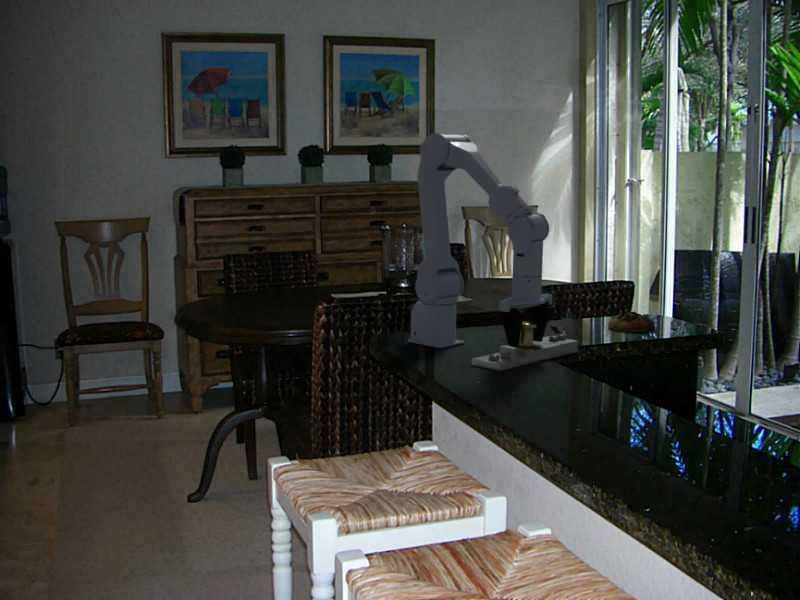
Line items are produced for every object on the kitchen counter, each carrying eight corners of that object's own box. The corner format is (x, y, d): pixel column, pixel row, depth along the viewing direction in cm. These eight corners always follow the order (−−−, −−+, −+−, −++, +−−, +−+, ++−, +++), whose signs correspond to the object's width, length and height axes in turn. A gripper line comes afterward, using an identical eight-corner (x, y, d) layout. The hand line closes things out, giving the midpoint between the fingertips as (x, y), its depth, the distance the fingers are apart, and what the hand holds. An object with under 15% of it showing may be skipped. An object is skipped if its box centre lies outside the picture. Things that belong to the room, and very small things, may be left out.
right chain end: (499, 358, 188) (499, 342, 188) (549, 346, 200) (550, 332, 199) (527, 364, 183) (528, 347, 183) (577, 352, 195) (578, 336, 194)
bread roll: (665, 331, 219) (663, 310, 218) (625, 340, 215) (623, 319, 214) (636, 325, 229) (634, 304, 228) (597, 334, 225) (595, 313, 224)
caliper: (572, 342, 206) (573, 314, 205) (567, 342, 206) (568, 314, 205) (553, 325, 226) (553, 299, 225) (548, 325, 226) (549, 299, 225)
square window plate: (471, 364, 182) (471, 354, 182) (522, 353, 193) (522, 343, 193) (499, 370, 177) (500, 360, 177) (549, 358, 188) (550, 348, 188)
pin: (508, 358, 189) (509, 323, 188) (523, 355, 192) (524, 320, 191) (526, 361, 185) (527, 326, 184) (540, 358, 188) (541, 323, 187)
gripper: (520, 280, 178) (518, 351, 180) (566, 274, 188) (563, 341, 190) (491, 277, 183) (489, 346, 185) (537, 271, 193) (535, 336, 195)
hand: (525, 343), depth 188 cm, fingers open, 7 cm apart
